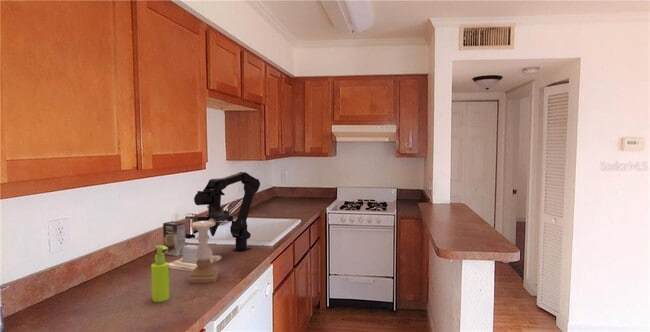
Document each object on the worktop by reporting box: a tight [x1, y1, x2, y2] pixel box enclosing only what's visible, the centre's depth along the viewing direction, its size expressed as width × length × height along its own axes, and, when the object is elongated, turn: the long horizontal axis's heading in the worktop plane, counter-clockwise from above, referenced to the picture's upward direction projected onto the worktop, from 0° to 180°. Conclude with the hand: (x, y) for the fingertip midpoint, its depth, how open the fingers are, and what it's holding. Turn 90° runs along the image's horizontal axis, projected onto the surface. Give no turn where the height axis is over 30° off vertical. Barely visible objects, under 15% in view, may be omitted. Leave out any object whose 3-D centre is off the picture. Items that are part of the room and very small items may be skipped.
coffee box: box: [162, 220, 186, 257], centre depth 197 cm, size 9×6×16 cm
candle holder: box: [187, 220, 220, 284], centre depth 161 cm, size 11×11×24 cm
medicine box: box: [181, 244, 199, 264], centre depth 180 cm, size 8×4×9 cm, turn 69°
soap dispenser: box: [150, 244, 170, 303], centre depth 140 cm, size 6×7×20 cm
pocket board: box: [168, 254, 222, 273], centre depth 182 cm, size 20×16×2 cm
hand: (212, 235), depth 189 cm, fingers closed
